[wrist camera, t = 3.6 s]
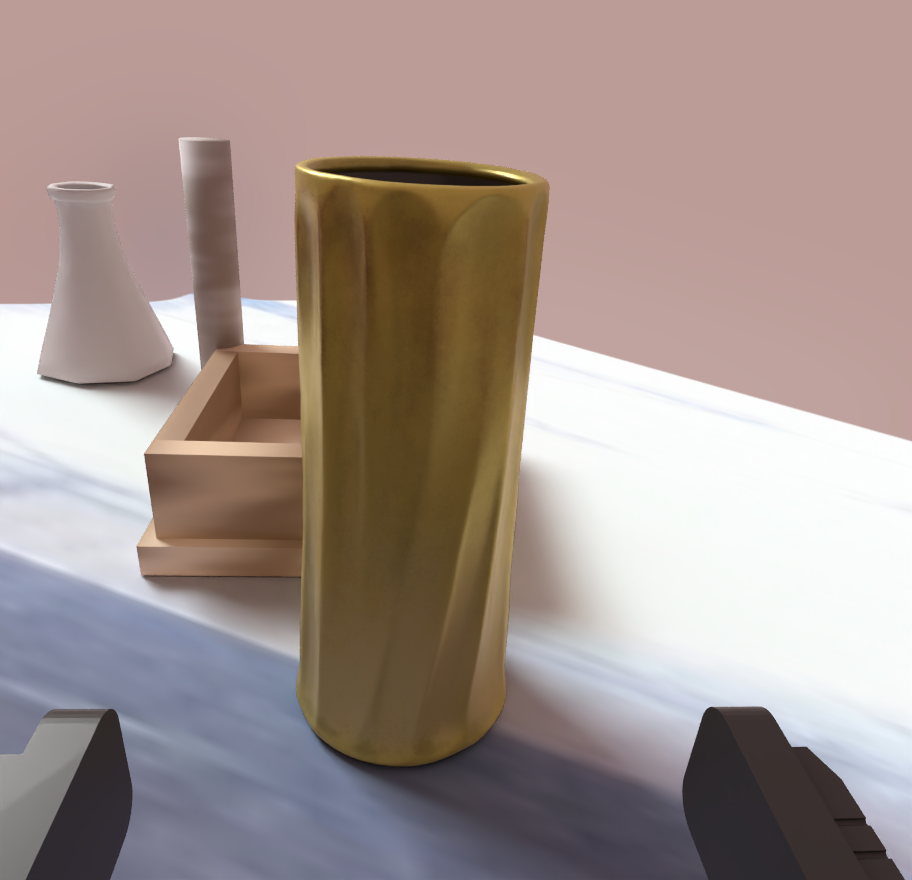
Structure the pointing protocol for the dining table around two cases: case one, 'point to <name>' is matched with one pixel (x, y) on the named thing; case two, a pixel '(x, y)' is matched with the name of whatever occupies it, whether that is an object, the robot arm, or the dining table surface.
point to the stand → (225, 416)
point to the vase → (410, 443)
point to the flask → (97, 298)
